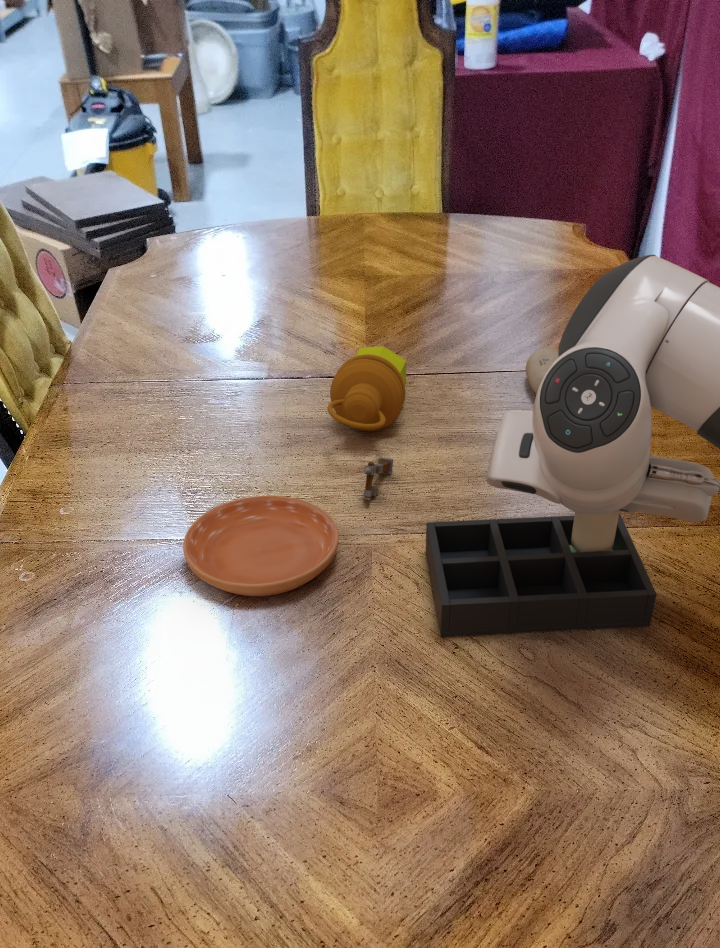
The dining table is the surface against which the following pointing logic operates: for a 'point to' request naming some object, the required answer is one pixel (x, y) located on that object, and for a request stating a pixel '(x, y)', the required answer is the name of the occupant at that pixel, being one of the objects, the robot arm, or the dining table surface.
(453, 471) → the dining table surface
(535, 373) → the stone
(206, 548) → the saucer
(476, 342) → the dining table surface
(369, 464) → the wooden post with brackets
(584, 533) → the cylinder
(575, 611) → the grid
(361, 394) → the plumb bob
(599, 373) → the robot arm
